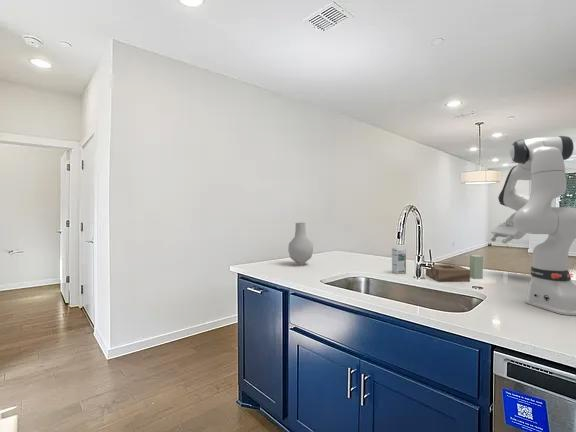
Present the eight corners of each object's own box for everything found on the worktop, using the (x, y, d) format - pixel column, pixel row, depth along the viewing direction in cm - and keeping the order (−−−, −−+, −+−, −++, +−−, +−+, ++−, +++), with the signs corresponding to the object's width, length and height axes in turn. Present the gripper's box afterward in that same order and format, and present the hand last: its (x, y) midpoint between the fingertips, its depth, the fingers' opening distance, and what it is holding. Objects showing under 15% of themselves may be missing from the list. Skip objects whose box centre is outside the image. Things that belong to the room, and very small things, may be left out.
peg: (482, 278, 177) (482, 256, 176) (474, 278, 177) (474, 256, 176) (477, 276, 181) (477, 255, 181) (469, 276, 181) (469, 255, 181)
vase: (283, 264, 222) (283, 223, 221) (300, 261, 233) (300, 221, 232) (300, 268, 209) (300, 224, 208) (318, 264, 220) (317, 222, 219)
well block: (469, 281, 171) (470, 269, 170) (439, 281, 170) (439, 270, 170) (453, 274, 187) (453, 264, 186) (425, 275, 186) (425, 264, 186)
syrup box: (397, 274, 190) (397, 249, 189) (391, 272, 195) (391, 247, 195) (406, 273, 191) (406, 248, 190) (399, 271, 197) (400, 247, 196)
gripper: (499, 218, 188) (481, 235, 188) (525, 220, 168) (506, 239, 168) (506, 226, 189) (489, 243, 189) (533, 229, 168) (514, 248, 168)
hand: (497, 241), depth 178 cm, fingers open, 8 cm apart
